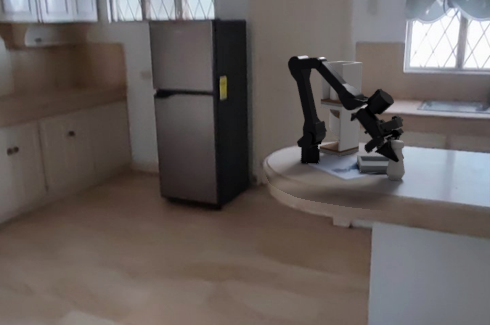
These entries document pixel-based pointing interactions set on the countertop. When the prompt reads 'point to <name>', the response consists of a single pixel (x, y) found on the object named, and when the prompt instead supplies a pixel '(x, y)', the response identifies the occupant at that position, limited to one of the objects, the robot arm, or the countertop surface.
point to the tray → (373, 163)
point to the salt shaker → (396, 168)
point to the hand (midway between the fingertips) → (400, 160)
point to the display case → (342, 110)
